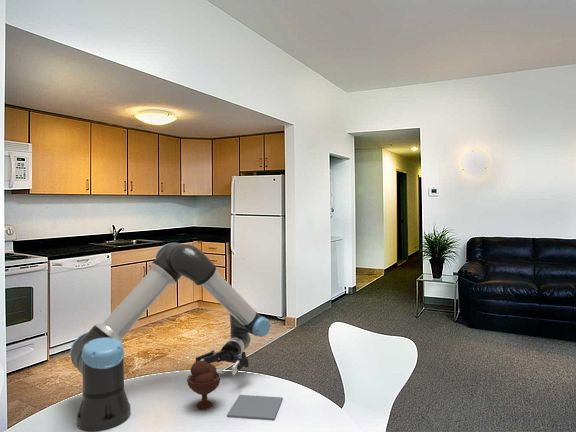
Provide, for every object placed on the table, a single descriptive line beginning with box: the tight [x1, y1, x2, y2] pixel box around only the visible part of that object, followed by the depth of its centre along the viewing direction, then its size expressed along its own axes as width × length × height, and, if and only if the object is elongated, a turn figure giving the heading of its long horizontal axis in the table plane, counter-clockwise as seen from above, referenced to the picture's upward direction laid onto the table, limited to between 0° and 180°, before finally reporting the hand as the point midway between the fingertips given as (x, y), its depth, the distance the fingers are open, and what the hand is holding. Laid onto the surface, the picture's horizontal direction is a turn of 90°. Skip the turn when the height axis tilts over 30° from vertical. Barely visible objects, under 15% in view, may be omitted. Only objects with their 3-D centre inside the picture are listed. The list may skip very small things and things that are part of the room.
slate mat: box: [226, 394, 284, 421], centre depth 130 cm, size 15×14×1 cm
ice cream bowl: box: [186, 361, 222, 411], centre depth 132 cm, size 11×11×15 cm
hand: (214, 370), depth 141 cm, fingers open, 13 cm apart
